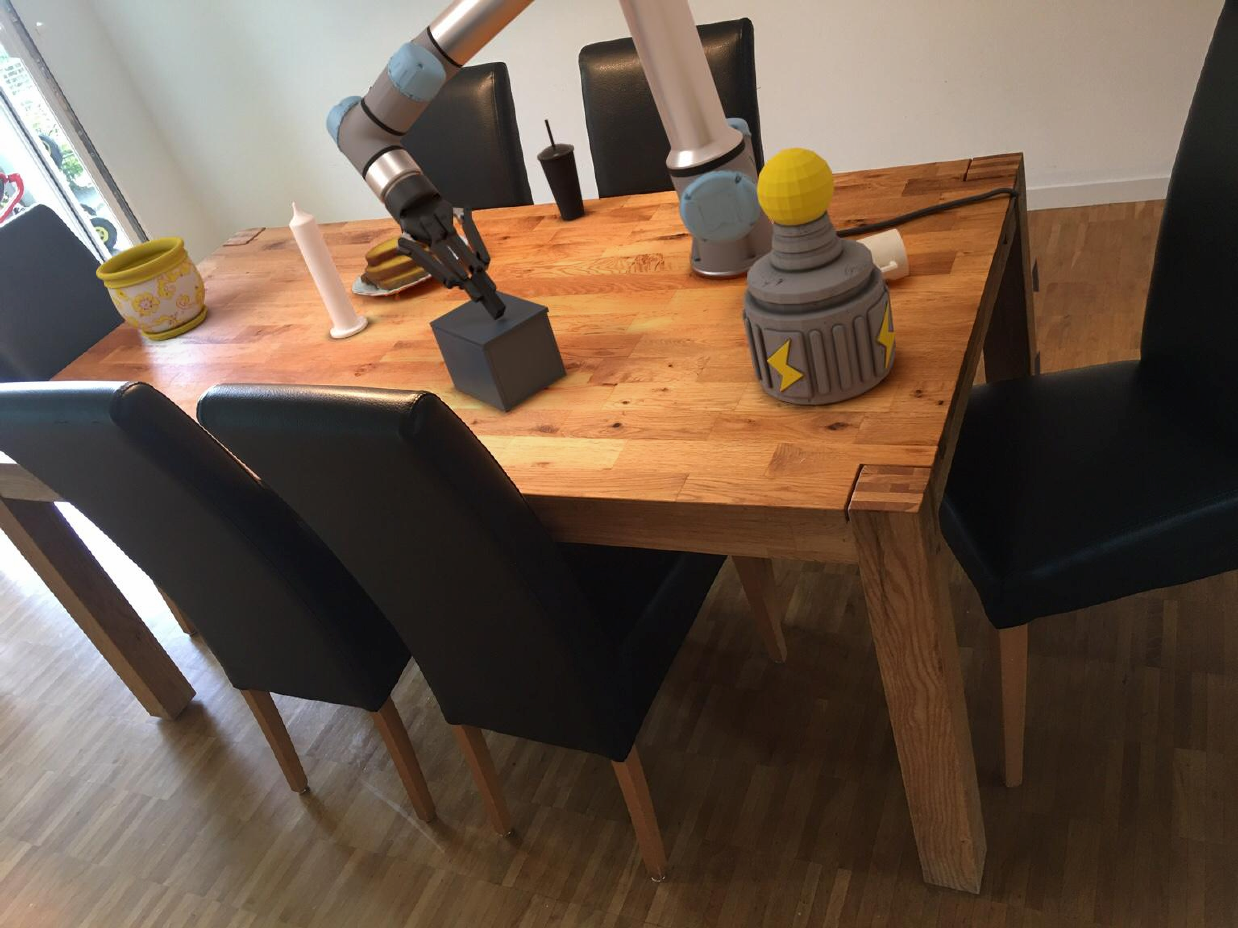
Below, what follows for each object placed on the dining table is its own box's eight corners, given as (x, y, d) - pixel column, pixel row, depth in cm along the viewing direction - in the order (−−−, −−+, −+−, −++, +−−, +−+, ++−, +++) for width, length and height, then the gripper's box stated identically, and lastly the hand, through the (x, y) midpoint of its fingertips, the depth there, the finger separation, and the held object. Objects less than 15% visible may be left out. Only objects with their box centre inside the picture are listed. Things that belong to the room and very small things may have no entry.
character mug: (826, 313, 148) (915, 286, 146) (816, 268, 145) (907, 240, 143) (813, 288, 158) (896, 263, 156) (803, 245, 154) (888, 219, 153)
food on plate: (412, 308, 191) (399, 277, 187) (330, 301, 206) (316, 272, 202) (498, 247, 206) (488, 217, 202) (416, 245, 221) (404, 216, 217)
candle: (374, 318, 192) (320, 192, 178) (355, 337, 186) (297, 208, 173) (344, 321, 195) (289, 197, 181) (324, 339, 189) (265, 213, 176)
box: (567, 374, 153) (546, 310, 147) (505, 412, 148) (481, 348, 142) (514, 353, 164) (492, 293, 158) (455, 388, 159) (430, 327, 153)
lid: (549, 311, 147) (548, 306, 146) (484, 349, 142) (483, 344, 141) (492, 293, 158) (490, 288, 158) (430, 327, 153) (429, 322, 153)
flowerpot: (199, 300, 228) (163, 232, 219) (232, 312, 215) (195, 240, 206) (124, 338, 219) (83, 269, 210) (153, 354, 206) (112, 280, 198)
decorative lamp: (795, 330, 146) (757, 124, 130) (922, 340, 135) (898, 116, 119) (729, 400, 135) (679, 184, 119) (862, 418, 124) (827, 182, 108)
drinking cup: (587, 220, 206) (559, 122, 196) (551, 226, 209) (522, 130, 198) (595, 205, 212) (569, 110, 202) (561, 211, 215) (533, 117, 204)
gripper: (438, 188, 155) (531, 306, 152) (365, 223, 149) (459, 346, 146) (443, 157, 148) (541, 280, 145) (367, 192, 143) (466, 321, 140)
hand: (500, 313), depth 146 cm, fingers closed
